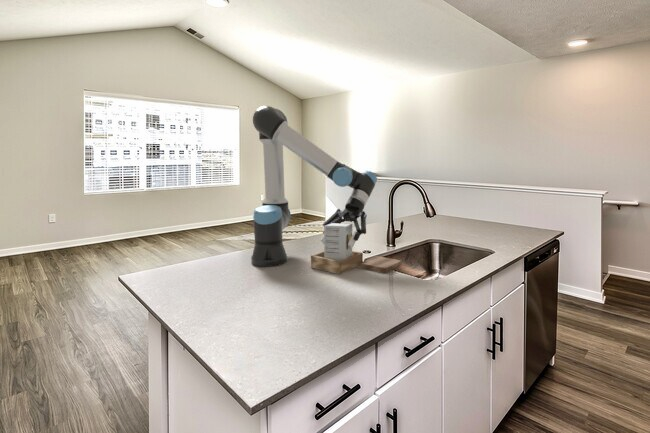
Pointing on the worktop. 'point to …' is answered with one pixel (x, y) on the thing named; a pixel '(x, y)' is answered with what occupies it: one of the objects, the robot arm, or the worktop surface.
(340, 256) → the supplement box
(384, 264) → the walnut board
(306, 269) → the worktop surface
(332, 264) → the wooden tray
